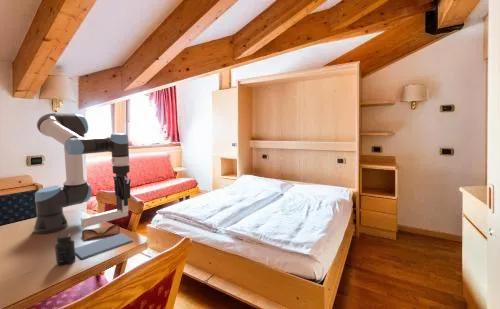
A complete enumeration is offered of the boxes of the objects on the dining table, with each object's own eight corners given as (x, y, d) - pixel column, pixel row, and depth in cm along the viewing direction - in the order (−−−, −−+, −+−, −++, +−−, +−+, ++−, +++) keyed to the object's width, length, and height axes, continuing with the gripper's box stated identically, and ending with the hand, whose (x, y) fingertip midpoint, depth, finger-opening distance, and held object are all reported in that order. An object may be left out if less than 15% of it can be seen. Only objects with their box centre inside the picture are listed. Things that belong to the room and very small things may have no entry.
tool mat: (72, 250, 121) (72, 249, 121) (121, 234, 139) (121, 233, 139) (81, 259, 114) (81, 257, 114) (132, 241, 131) (132, 239, 131)
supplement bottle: (62, 257, 115) (60, 232, 113) (78, 257, 115) (77, 232, 114) (52, 266, 108) (50, 239, 106) (69, 265, 109) (67, 239, 107)
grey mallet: (81, 226, 116) (79, 202, 115) (125, 214, 132) (124, 193, 130) (83, 228, 114) (82, 204, 113) (128, 215, 130) (127, 194, 128)
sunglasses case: (81, 242, 130) (80, 228, 132) (82, 244, 135) (81, 231, 137) (121, 234, 139) (120, 222, 141) (120, 236, 144) (119, 224, 147)
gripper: (105, 164, 129) (108, 209, 131) (120, 167, 118) (123, 216, 121) (120, 162, 134) (123, 205, 137) (136, 165, 124) (139, 212, 127)
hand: (123, 210), depth 129 cm, fingers closed on grey mallet, 4 cm apart
